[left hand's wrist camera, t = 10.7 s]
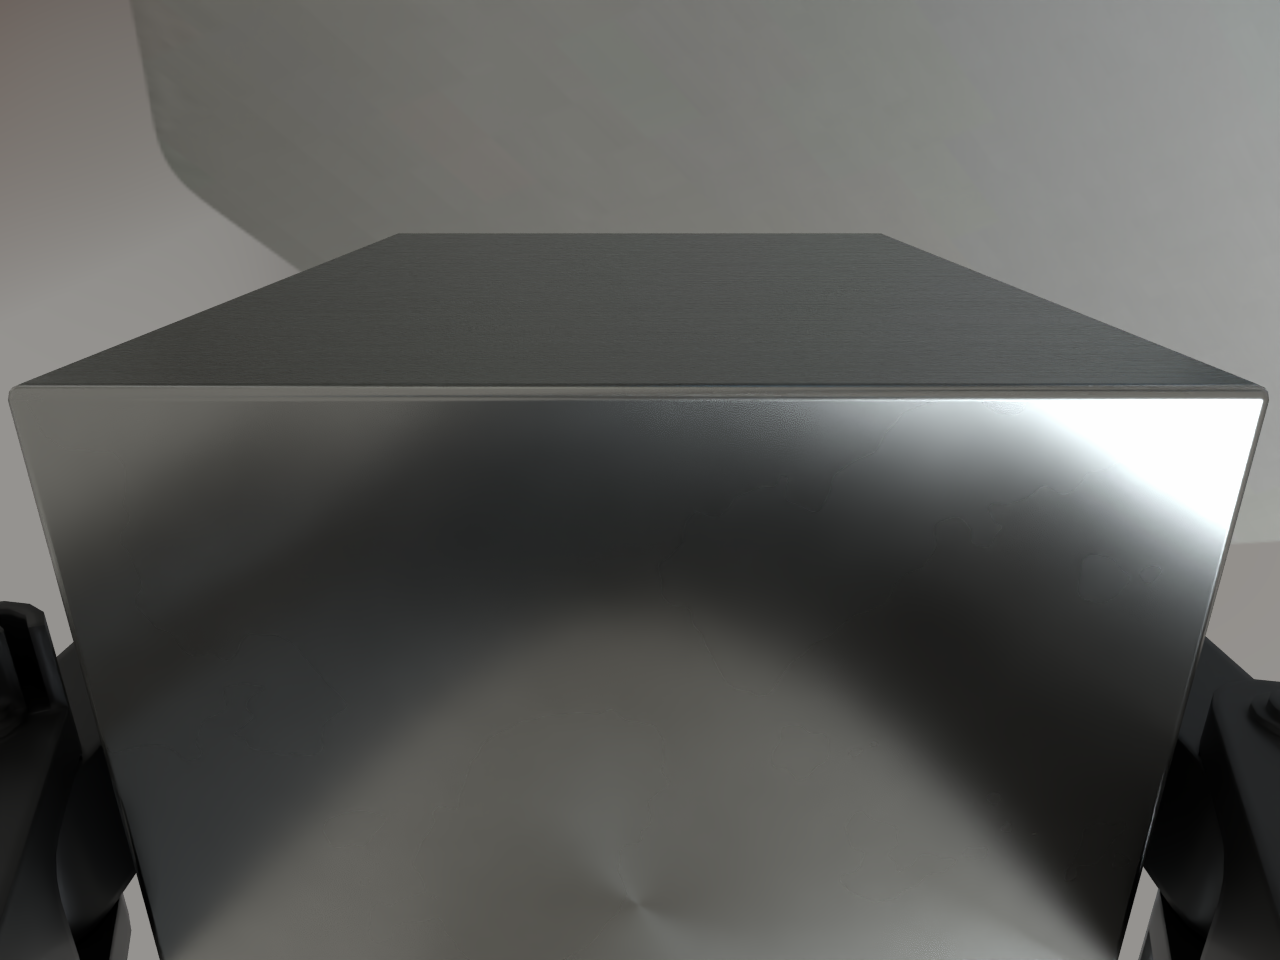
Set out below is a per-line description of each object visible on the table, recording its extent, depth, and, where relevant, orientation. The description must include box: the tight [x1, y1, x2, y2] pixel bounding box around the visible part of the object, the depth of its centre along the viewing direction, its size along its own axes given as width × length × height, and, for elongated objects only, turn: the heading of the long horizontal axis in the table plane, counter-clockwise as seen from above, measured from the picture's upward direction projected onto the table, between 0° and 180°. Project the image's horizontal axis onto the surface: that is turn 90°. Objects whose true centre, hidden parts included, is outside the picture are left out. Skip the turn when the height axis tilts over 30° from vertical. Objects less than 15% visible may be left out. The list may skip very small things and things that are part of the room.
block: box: [8, 233, 1269, 960], centre depth 11 cm, size 8×8×9 cm
